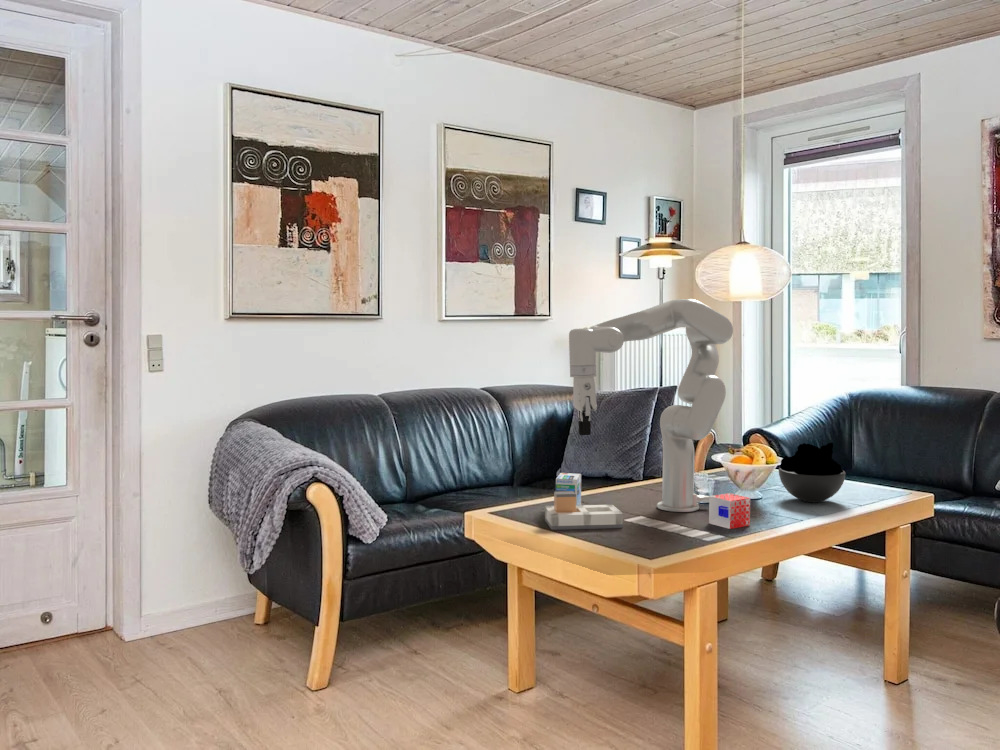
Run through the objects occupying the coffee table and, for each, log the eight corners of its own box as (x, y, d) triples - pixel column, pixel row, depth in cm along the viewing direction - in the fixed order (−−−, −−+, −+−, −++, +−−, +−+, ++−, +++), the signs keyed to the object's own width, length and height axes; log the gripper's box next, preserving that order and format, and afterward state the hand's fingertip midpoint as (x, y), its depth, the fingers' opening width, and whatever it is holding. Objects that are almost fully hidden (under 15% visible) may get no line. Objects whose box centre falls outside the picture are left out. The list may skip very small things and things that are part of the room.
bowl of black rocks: (781, 506, 270) (782, 446, 268) (775, 494, 289) (776, 437, 288) (849, 509, 265) (851, 448, 264) (839, 496, 285) (840, 439, 283)
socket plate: (612, 518, 254) (612, 504, 254) (622, 527, 242) (622, 513, 242) (544, 519, 252) (544, 506, 252) (551, 529, 240) (551, 515, 240)
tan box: (573, 518, 249) (573, 491, 248) (575, 522, 245) (575, 493, 244) (554, 519, 248) (554, 491, 248) (556, 522, 244) (556, 494, 244)
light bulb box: (577, 515, 258) (577, 479, 257) (555, 514, 259) (555, 478, 259) (581, 507, 269) (581, 473, 268) (559, 506, 270) (559, 472, 269)
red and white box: (749, 525, 245) (750, 497, 245) (729, 529, 241) (730, 500, 240) (728, 520, 252) (728, 493, 251) (708, 523, 248) (709, 496, 247)
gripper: (602, 372, 244) (603, 437, 245) (589, 369, 259) (591, 430, 260) (575, 374, 243) (577, 439, 244) (565, 370, 258) (566, 431, 259)
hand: (584, 434), depth 252 cm, fingers closed
